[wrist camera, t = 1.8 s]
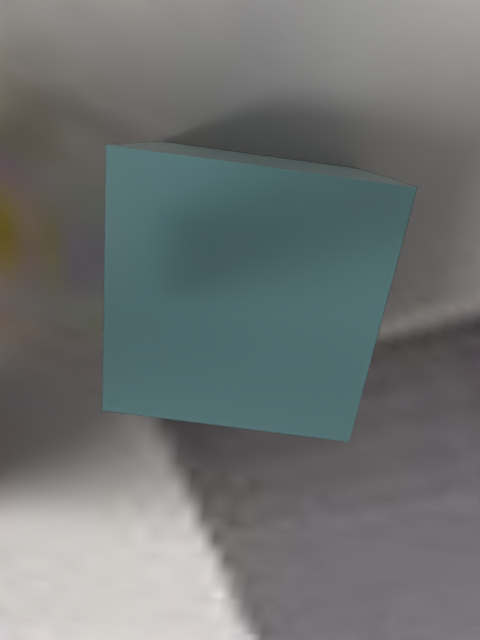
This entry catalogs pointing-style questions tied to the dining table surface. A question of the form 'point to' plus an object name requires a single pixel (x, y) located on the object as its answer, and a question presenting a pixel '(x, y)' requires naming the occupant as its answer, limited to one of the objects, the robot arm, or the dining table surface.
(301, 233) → the teal cube
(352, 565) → the dining table surface
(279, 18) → the dining table surface
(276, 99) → the dining table surface
